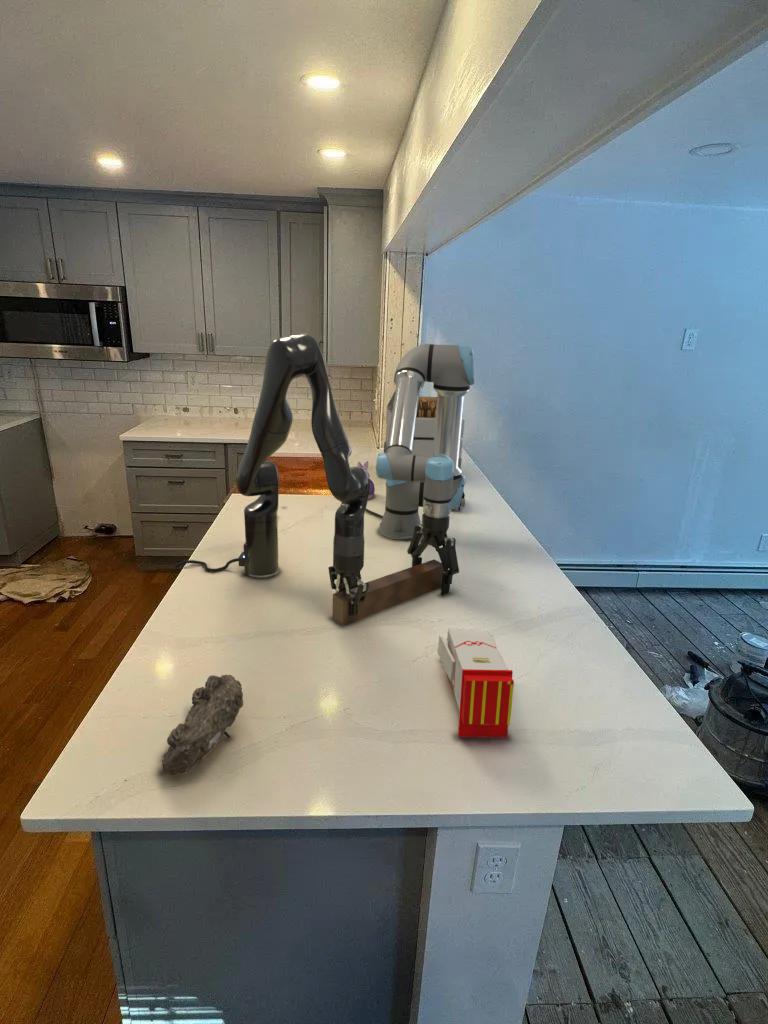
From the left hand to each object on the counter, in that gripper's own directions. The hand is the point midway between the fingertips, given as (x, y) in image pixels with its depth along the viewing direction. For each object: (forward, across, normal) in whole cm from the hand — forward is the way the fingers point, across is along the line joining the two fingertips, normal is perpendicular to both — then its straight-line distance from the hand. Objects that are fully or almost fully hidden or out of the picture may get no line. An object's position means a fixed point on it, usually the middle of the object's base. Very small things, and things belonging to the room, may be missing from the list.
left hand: (347, 610), depth 143 cm
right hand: (+2, 0, +30) cm, 30 cm away
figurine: (+2, -74, +65) cm, 99 cm away
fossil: (+2, +18, -45) cm, 49 cm away
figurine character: (+2, -44, +88) cm, 98 cm away
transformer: (+2, -88, +110) cm, 141 cm away
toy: (+2, +39, +3) cm, 39 cm away
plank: (+2, 0, +15) cm, 15 cm away
